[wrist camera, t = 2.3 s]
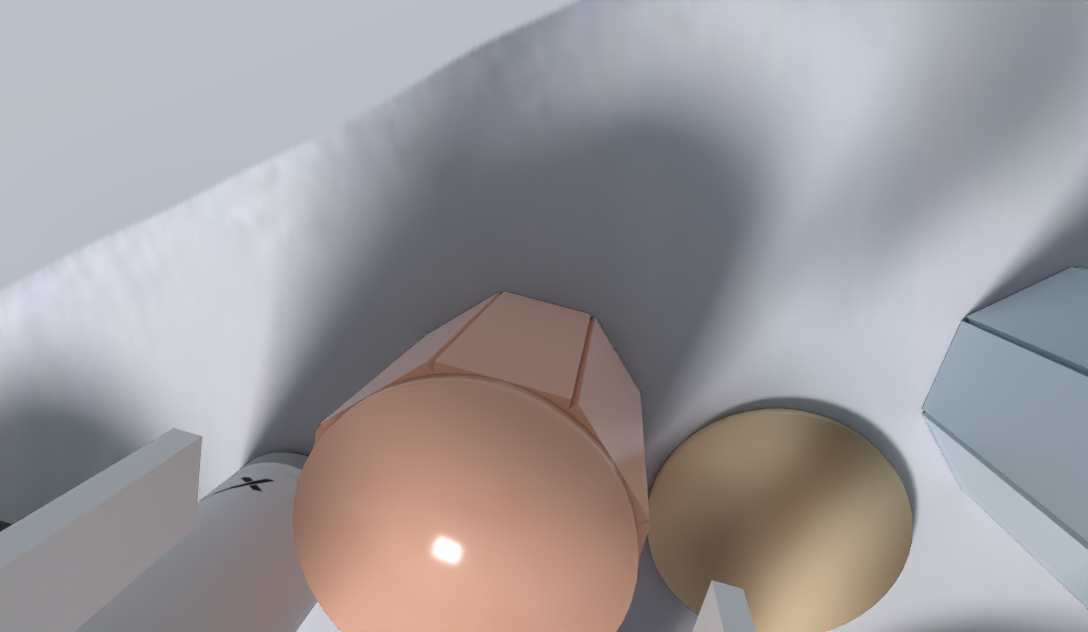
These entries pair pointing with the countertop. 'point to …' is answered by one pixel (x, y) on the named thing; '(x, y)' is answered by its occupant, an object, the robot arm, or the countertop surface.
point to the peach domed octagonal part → (481, 482)
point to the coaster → (781, 519)
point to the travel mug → (225, 563)
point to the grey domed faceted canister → (1024, 420)
